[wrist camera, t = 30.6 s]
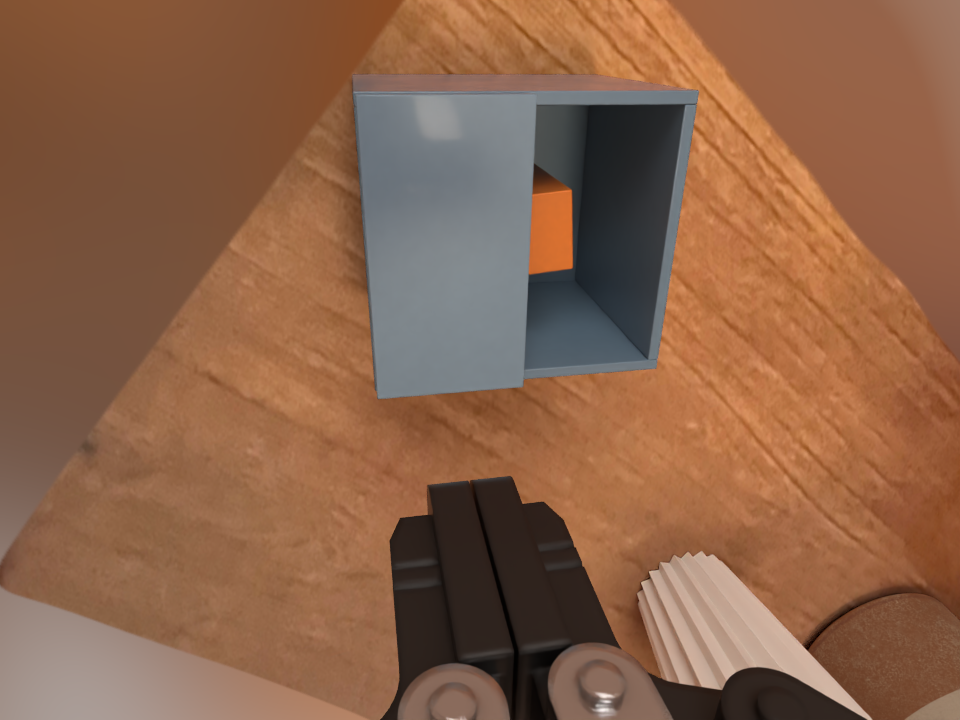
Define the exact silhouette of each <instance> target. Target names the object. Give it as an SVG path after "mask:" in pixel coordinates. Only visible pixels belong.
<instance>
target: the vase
mask: <svg viewBox="0 0 960 720" xmlns="http://www.w3.org/2000/svg"><path fill="white" fill-rule="evenodd" d="M649 575H650V579H648V580H645V581H643V582H641V584H642V587H643V590H641V591H640V592H638V593H637V595H638V598H639V602H638V606H639V610H640V613H641V616H642V619H643V622H644V625H645V628H646V631H647V634H648V637H649V640H650V643H651V646H652V649H653V652H654V655H655V658H656V661H657V664H658V667H659V670H660V673H661V676H662V679H664V680H667V681H670V682H675V683H680V684H686V685H693V686H699V687H706V688H712V689H719V690H722V689H723V687H724V685H725V682H726V681H727V680H728V679H729V677H730V676H732V675H733V674H734V673H736V672H738V671H740V670H742V669H746V668H750V667H763V668H770V669H775V670H779V671H781V672H784V673H787V674H789V675H791V676H793V677H795V678H797V679H799V680H800V681H802V682H804V683H805V684H807V685H809V686H811V687H812V688H814V689H816V690H818V691H819V692H821V693H823V694H824V695H826V696H828V697H830V698H831V699H833V700H835V701H836V702H838V703H840V704H842V705H843V706H845V707H847V708H848V709H850V710H852V711H854V712H855V713H857V714H859V715H861V716H862V717H864V718H866V719H867V720H872V719H871V717H870V716H869V715H868V714H867V713H866V712H865V711H864V710H863V709H862V708H861V707H860V706H859V705H858V704H857V703H856V702H855V701H854V700H853V698H852V697H851V696H850V695H849V694H848V693H847V692H846V691H845V690H844V689H843V688H842V687H841V686H840V685H839V684H838V683H837V682H836V681H835V679H834V678H833V677H832V676H831V675H830V674H829V673H828V672H827V671H826V670H825V669H824V668H823V667H822V666H821V665H820V664H819V663H818V662H817V661H816V659H815V658H814V657H813V656H812V655H811V654H810V653H809V652H808V651H807V650H806V649H805V648H804V647H803V646H802V645H801V644H800V643H799V642H798V641H797V639H796V638H795V637H794V636H793V635H792V634H791V633H790V632H789V631H788V630H787V629H786V628H785V627H784V626H783V625H782V624H781V623H780V622H779V621H778V619H777V618H776V617H775V616H774V615H773V614H772V613H771V612H770V611H769V610H768V609H767V608H766V607H765V606H764V605H763V604H762V603H761V602H760V601H759V600H758V598H757V597H756V596H755V595H754V594H753V593H752V592H751V591H750V590H749V589H748V588H747V587H746V586H745V585H744V584H743V583H742V582H741V581H740V580H739V579H738V577H737V576H736V575H735V574H734V573H733V572H732V571H731V570H730V569H729V568H728V567H727V566H726V565H725V564H724V563H723V562H722V561H719V560H718V559H717V558H716V557H715V556H714V555H713V554H712V555H710V556H706V555H705V554H704V553H703V552H702V551H701V552H699V553H698V554H696V555H695V556H692V555H691V554H690V553H689V551H688V552H687V553H686V554H685V555H684V556H683V557H682V558H679V557H677V556H675V555H673V557H672V559H671V561H670V562H669V563H665V562H660V565H659V570H655V571H649Z"/></svg>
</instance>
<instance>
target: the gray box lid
mask: <svg viewBox="0 0 960 720" xmlns="http://www.w3.org/2000/svg"><path fill="white" fill-rule="evenodd" d="M355 102H356V116H357V129H358V143H359V156H360V170H361V183H362V197H363V210H364V224H365V237H366V251H367V264H368V278H369V291H370V305H371V318H372V332H373V345H374V359H375V373H376V386H377V398H378V399H386V398H398V397H410V396H422V395H434V394H446V393H458V392H470V391H482V390H494V389H506V388H518V387H523V385H524V363H525V342H526V321H527V299H528V278H529V257H530V236H531V214H532V193H533V172H534V150H535V129H536V108H537V94H534V93H522V94H356V95H355Z"/></svg>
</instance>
